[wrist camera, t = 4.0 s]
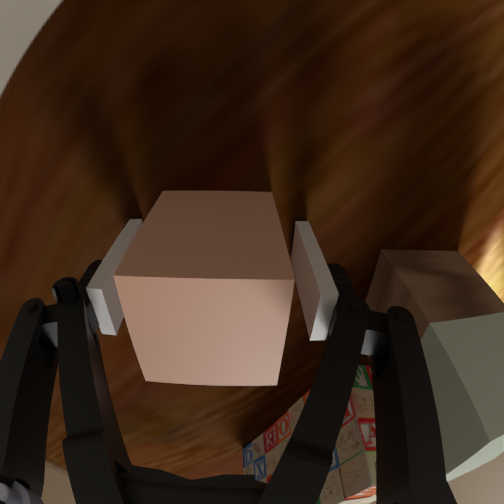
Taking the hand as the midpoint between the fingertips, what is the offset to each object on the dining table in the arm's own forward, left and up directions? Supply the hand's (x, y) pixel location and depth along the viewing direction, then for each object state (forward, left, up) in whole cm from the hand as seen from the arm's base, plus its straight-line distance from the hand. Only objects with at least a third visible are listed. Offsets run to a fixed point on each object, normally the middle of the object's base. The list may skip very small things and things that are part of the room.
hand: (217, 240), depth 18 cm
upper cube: (+14, -4, +7) cm, 16 cm away
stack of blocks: (+9, -23, -1) cm, 24 cm away
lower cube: (+14, -4, 0) cm, 14 cm away
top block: (0, 0, 0) cm, 0 cm away
